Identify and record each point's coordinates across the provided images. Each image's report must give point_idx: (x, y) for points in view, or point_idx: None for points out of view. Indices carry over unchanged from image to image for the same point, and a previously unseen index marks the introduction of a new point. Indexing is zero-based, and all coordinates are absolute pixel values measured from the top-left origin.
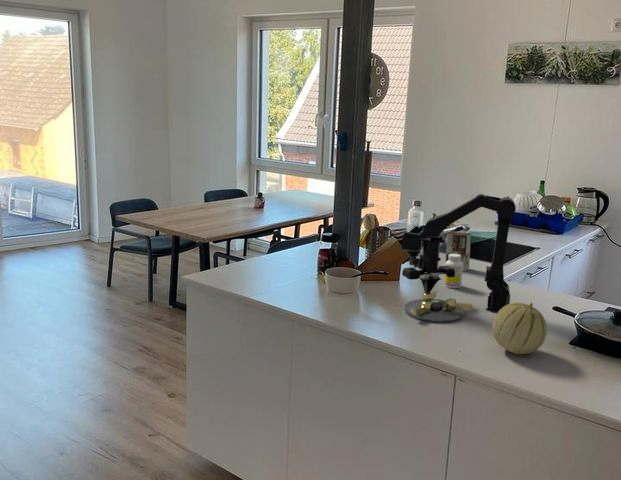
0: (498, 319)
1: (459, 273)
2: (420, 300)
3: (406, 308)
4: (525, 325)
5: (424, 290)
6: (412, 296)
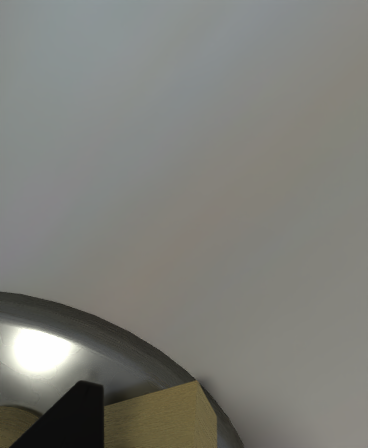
0: None
1: None
2: (6, 355)
3: None
4: None
5: (28, 434)
6: (126, 59)
